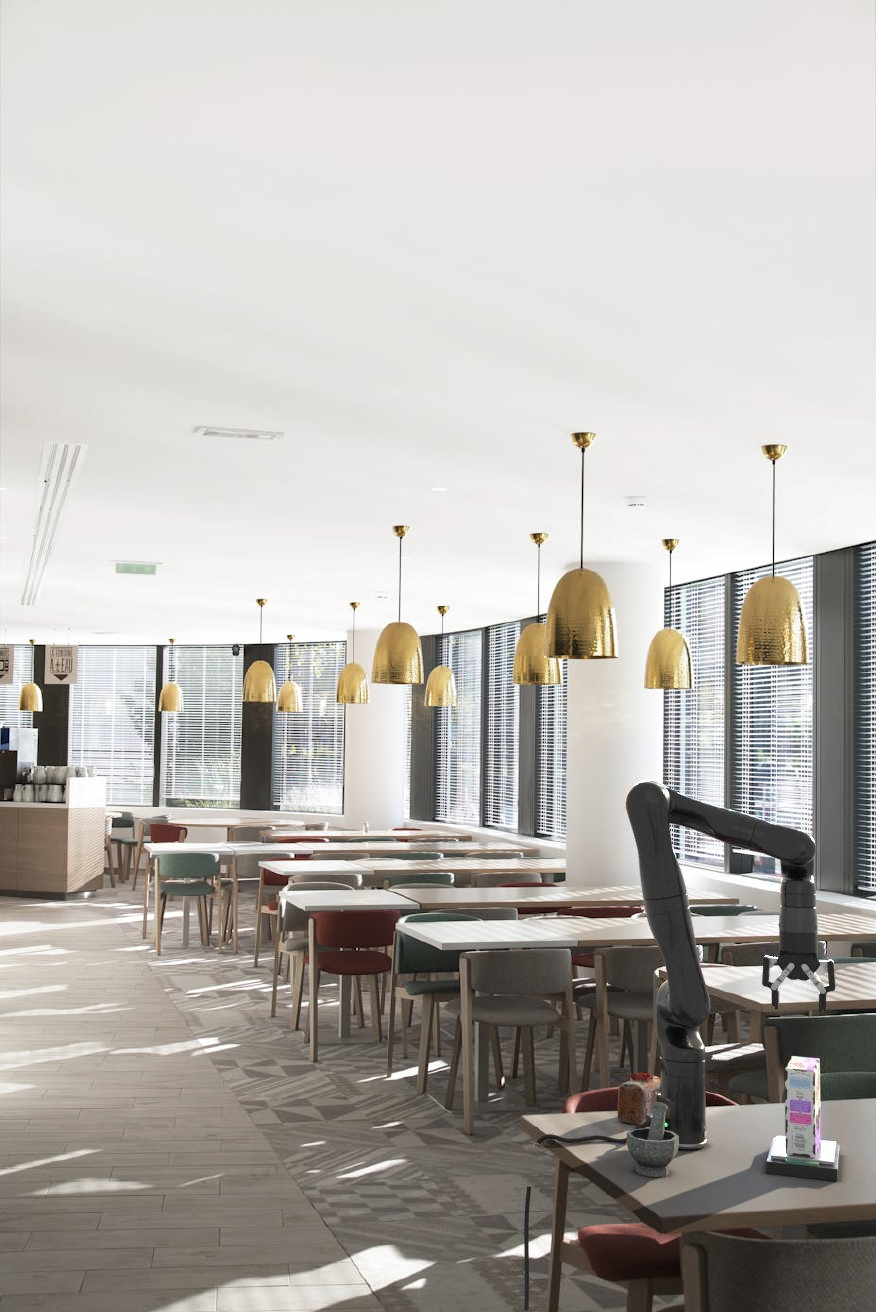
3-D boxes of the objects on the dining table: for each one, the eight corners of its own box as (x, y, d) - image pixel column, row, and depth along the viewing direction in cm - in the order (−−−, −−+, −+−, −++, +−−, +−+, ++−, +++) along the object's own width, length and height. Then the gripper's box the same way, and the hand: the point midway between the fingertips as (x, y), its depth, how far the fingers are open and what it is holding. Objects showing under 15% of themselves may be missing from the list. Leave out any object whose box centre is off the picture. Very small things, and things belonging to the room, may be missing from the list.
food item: (637, 1109, 288) (637, 1064, 289) (670, 1114, 284) (670, 1069, 285) (614, 1121, 277) (614, 1075, 278) (648, 1127, 272) (648, 1080, 274)
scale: (837, 1181, 237) (837, 1165, 237) (766, 1173, 241) (766, 1158, 241) (839, 1155, 254) (839, 1141, 254) (773, 1148, 258) (773, 1134, 258)
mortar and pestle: (669, 1182, 234) (669, 1116, 235) (620, 1174, 238) (621, 1109, 239) (685, 1167, 244) (685, 1103, 245) (638, 1159, 248) (639, 1097, 249)
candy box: (816, 1159, 241) (815, 1070, 243) (784, 1155, 243) (783, 1067, 245) (822, 1141, 254) (820, 1057, 256) (791, 1137, 256) (791, 1054, 258)
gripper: (835, 929, 257) (836, 1010, 256) (763, 925, 262) (764, 1005, 260) (834, 932, 250) (835, 1016, 249) (760, 928, 255) (760, 1010, 253)
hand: (798, 1010), depth 254 cm, fingers open, 8 cm apart
